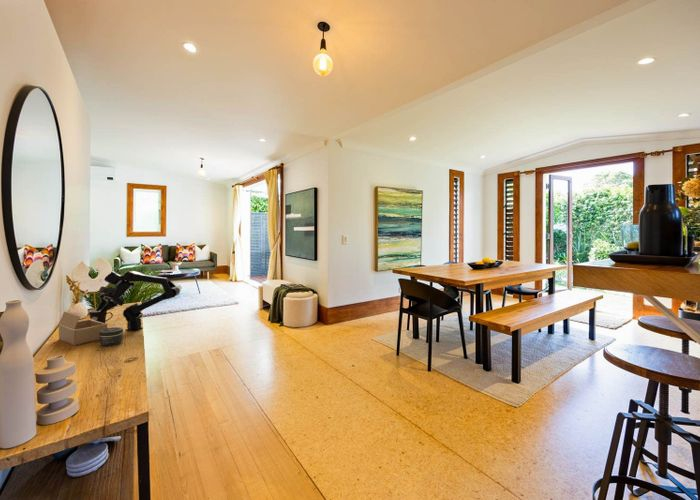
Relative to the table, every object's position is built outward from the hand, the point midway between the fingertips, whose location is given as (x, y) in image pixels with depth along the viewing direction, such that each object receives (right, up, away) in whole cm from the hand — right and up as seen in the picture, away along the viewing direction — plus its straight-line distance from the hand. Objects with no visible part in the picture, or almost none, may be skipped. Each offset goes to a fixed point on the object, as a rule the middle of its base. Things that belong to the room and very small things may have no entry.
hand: (98, 311), depth 175 cm
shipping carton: (-4, -14, -6) cm, 16 cm away
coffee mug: (-13, -13, +17) cm, 24 cm away
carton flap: (-7, -5, -13) cm, 15 cm away
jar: (+16, -15, -12) cm, 25 cm away
